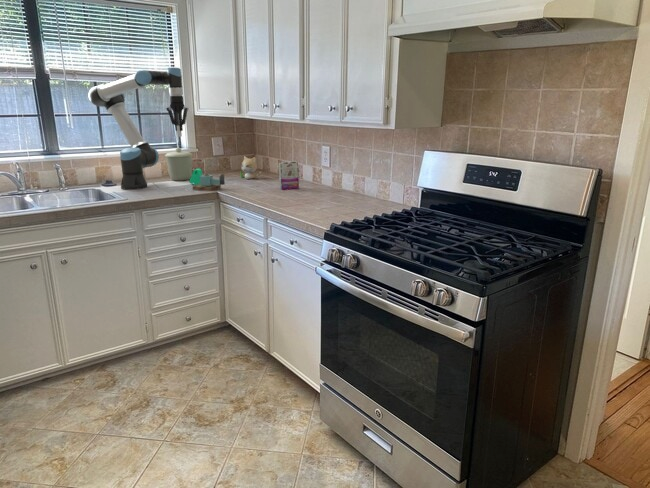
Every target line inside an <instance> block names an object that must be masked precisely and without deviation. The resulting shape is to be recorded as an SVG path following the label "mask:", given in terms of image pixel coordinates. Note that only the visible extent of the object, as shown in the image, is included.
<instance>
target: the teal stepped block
mask: <svg viewBox="0 0 650 488" xmlns="http://www.w3.org/2000/svg"><path fill="white" fill-rule="evenodd" d="M212 184H215V185H222V186H223V185H226V183H225V174H224V173H219V174H218V178H214V175H213V174H208V176H204V174H202V176H200V186H211V185H212Z"/></svg>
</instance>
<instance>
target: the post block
mask: <svg viewBox="0 0 650 488" xmlns="http://www.w3.org/2000/svg"><path fill="white" fill-rule="evenodd" d="M203 175H204V176H208V175H209V172H208V171H205V172H203ZM221 188H222V186H221V185H215V184H212V185H211V186H200V184H197V185H194V186H192V191H212V192H213V191H214V192H215V191H217V190H219V189H221Z"/></svg>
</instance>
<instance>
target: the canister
mask: <svg viewBox="0 0 650 488" xmlns="http://www.w3.org/2000/svg"><path fill="white" fill-rule="evenodd" d="M193 156H194V153H192V152H190V151H182V148H181V147H176V148H175V151H172V152H171V151H170V152H167V153H166V154H164V157H165V159H166V160H165V161H166V166H167V171H168V174H169V178H170V179H171V180H172V181H176V182H177V181H178V182H180V181H181V182H182V181H188V180H190V178H191V176H192V173H193V169H192V168H193Z"/></svg>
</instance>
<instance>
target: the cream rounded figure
mask: <svg viewBox="0 0 650 488" xmlns="http://www.w3.org/2000/svg"><path fill="white" fill-rule="evenodd" d="M240 167H241V170H240V172H239V175H240V178H241V179H243V178H245V180H249V179H250V180H252V179H255V178H257V177H259V176H261V175H262V171H259V172H258V173H256V175H255V172H256V171H257V169H258V163H257V156H254V157H252V158H248V157H247V156H245V155H243V161H242V162H241V166H240ZM242 172H243V173H245V174H244V175H243V174H242Z"/></svg>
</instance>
